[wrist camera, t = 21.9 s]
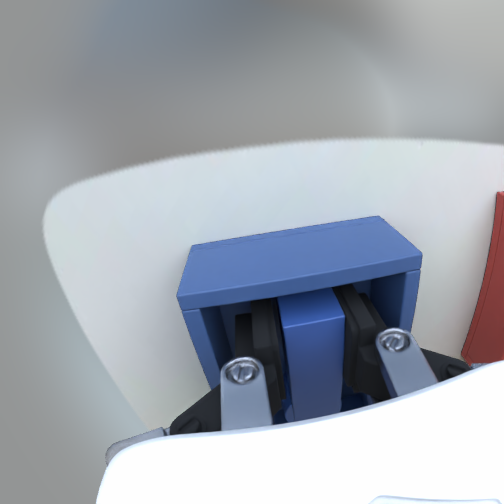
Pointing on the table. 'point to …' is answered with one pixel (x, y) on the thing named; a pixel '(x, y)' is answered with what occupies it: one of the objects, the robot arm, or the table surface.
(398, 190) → the table surface
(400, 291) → the blue bin
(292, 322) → the blue block
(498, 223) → the red bin
